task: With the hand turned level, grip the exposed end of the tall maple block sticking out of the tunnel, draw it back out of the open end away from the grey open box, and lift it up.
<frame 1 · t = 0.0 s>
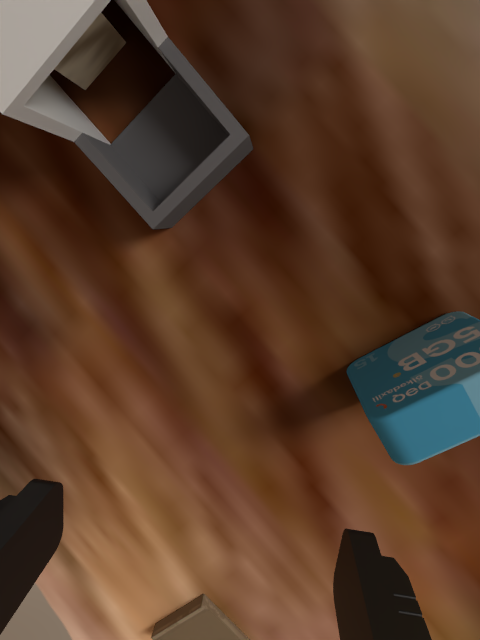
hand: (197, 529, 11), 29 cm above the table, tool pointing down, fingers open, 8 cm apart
tunnel: (56, 10, 34), on the table
maple block: (57, 10, 34), on the table
grey open box: (169, 145, 33), on the table
data package: (407, 355, 39), on the table
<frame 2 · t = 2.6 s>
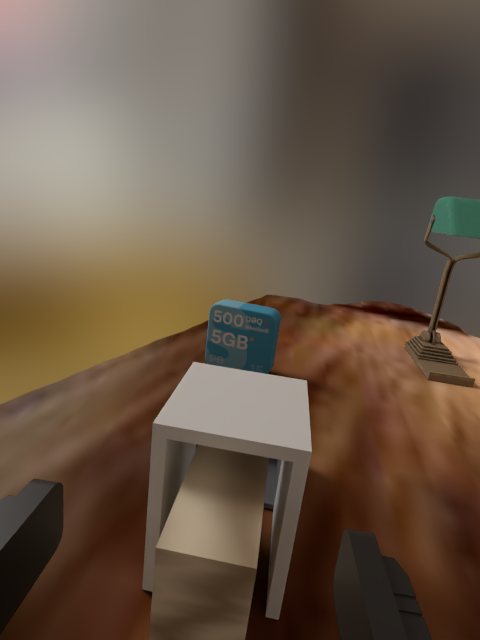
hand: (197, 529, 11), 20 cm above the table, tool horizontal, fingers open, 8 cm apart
banker's lamp: (435, 367, 87), on the table
tunnel: (209, 604, 30), on the table
maple block: (209, 605, 30), on the table
grey open box: (241, 450, 44), on the table
data package: (238, 369, 73), on the table
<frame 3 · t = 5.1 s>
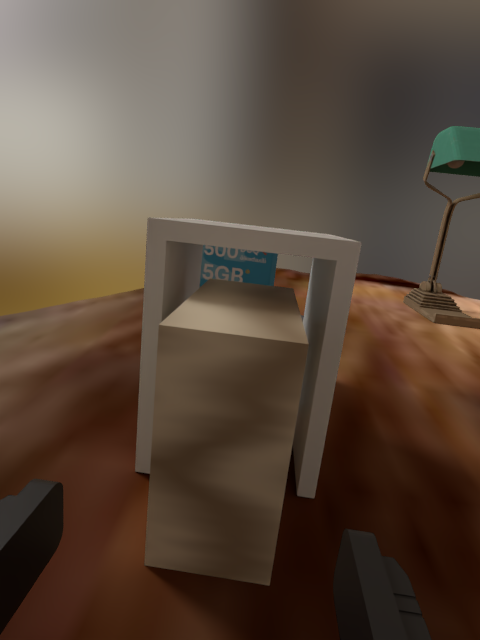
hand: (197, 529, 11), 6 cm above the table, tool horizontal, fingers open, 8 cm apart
banker's lamp: (438, 315, 82), on the table
tunnel: (223, 484, 23), on the table
maple block: (223, 486, 23), on the table
data package: (232, 310, 66), on the table
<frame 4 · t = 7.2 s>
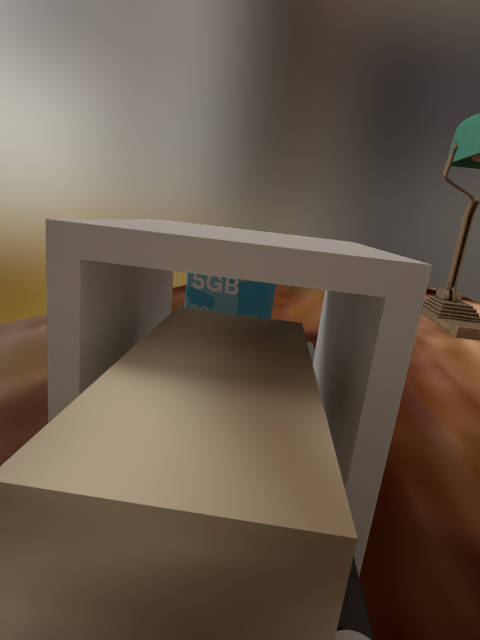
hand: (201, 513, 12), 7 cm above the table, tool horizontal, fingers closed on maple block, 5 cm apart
banker's lamp: (459, 327, 73), on the table
data package: (227, 324, 58), on the table
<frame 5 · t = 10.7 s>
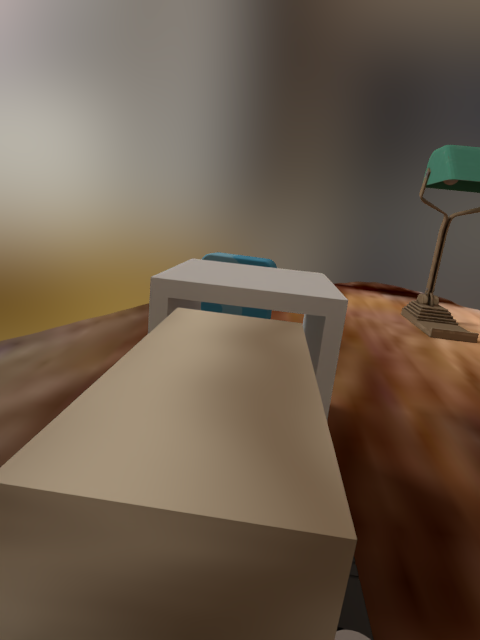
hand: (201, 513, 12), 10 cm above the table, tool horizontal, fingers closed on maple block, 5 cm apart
banker's lamp: (435, 328, 83), on the table
tunnel: (222, 518, 24), on the table
data package: (232, 327, 68), on the table
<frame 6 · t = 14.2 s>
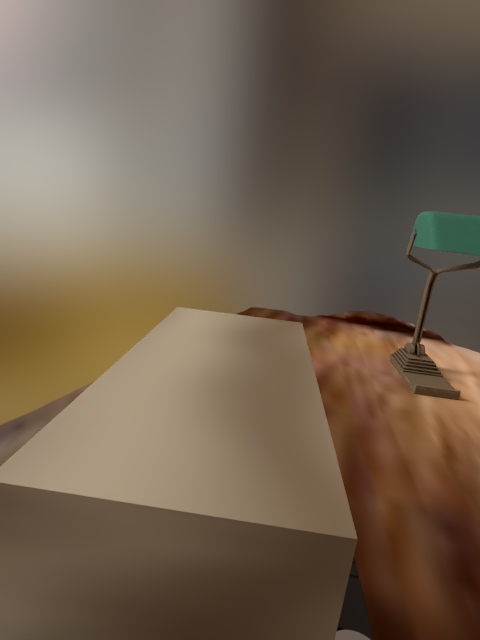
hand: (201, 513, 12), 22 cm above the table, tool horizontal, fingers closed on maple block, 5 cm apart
banker's lamp: (421, 379, 87), on the table
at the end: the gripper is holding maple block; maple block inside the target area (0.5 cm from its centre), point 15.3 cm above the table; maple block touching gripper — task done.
